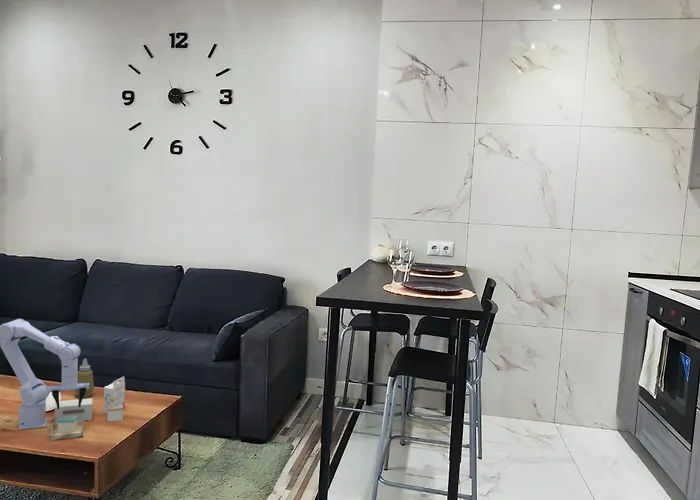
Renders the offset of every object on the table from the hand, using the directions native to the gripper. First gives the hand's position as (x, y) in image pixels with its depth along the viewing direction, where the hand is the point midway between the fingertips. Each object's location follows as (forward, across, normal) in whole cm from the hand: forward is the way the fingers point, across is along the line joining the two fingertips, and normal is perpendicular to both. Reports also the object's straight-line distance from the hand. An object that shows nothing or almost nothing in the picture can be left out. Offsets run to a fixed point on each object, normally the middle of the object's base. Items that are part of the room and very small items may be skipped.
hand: (68, 407), depth 228 cm
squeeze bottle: (+9, -6, -35) cm, 36 cm away
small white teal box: (+8, 0, +5) cm, 10 cm away
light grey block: (+9, -18, -3) cm, 20 cm away
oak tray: (+8, 0, +5) cm, 10 cm away
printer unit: (+9, -2, -9) cm, 12 cm away
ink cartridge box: (+9, -18, -13) cm, 24 cm away
